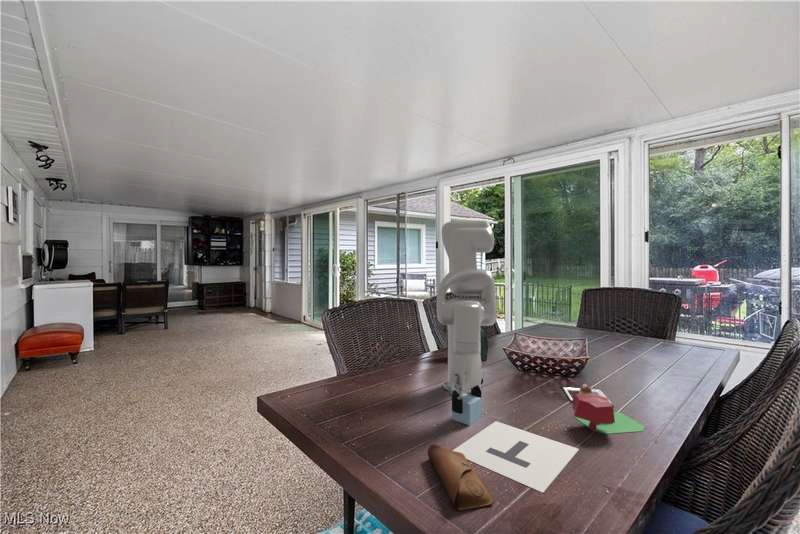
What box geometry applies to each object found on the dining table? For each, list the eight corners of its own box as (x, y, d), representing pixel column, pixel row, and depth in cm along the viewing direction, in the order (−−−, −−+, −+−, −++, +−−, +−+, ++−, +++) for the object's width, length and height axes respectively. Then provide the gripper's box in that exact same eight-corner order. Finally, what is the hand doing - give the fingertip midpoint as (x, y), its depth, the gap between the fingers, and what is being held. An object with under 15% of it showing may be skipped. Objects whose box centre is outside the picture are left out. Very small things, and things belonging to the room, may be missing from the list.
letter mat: (495, 421, 103) (495, 421, 103) (579, 449, 88) (579, 448, 88) (450, 452, 87) (450, 451, 87) (543, 493, 72) (543, 492, 72)
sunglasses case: (497, 501, 68) (480, 474, 67) (467, 526, 67) (449, 498, 66) (461, 451, 86) (447, 429, 85) (437, 470, 85) (422, 448, 84)
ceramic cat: (443, 359, 164) (443, 315, 164) (443, 355, 171) (443, 313, 170) (488, 361, 161) (488, 316, 160) (487, 357, 167) (487, 314, 167)
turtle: (554, 415, 107) (554, 384, 107) (616, 410, 110) (616, 381, 110) (587, 440, 92) (587, 405, 92) (658, 435, 95) (658, 400, 95)
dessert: (612, 406, 114) (612, 391, 114) (570, 403, 117) (570, 388, 117) (600, 392, 126) (600, 379, 126) (562, 390, 128) (562, 376, 128)
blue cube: (463, 412, 109) (463, 392, 109) (481, 418, 105) (481, 398, 105) (452, 419, 105) (452, 398, 104) (470, 425, 101) (470, 404, 100)
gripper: (471, 340, 113) (471, 396, 113) (437, 350, 100) (437, 412, 100) (494, 344, 108) (494, 402, 108) (461, 354, 95) (461, 420, 95)
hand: (467, 407), depth 104 cm, fingers open, 9 cm apart
